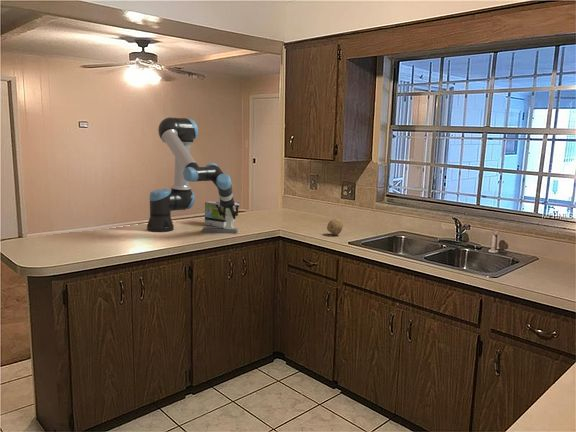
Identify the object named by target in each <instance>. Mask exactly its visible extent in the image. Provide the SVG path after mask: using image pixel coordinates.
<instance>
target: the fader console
mask: <svg viewBox="0 0 576 432" xmlns="http://www.w3.org/2000/svg"><path fill="white" fill-rule="evenodd" d="M201 232H202V233H210V234H212V233H213V234H214V233H215V234H232V235H233V234H234V235H236V234H238V232H239V228H237V227H236V228H235V227H234V229H224V228H221V227H216V226H211V227H210V226H203V227H202V229H201Z"/></svg>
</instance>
